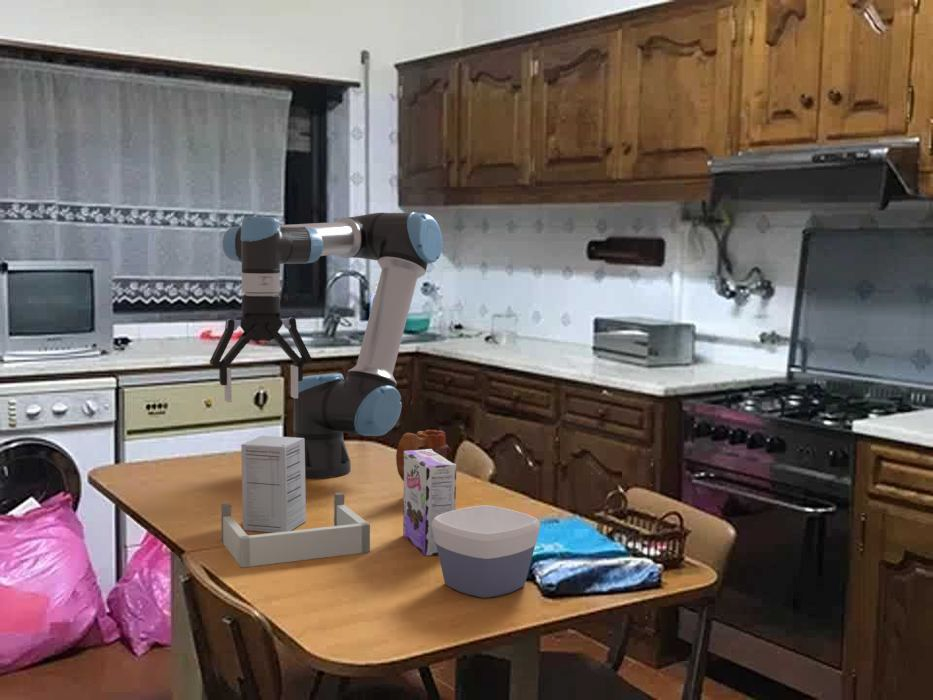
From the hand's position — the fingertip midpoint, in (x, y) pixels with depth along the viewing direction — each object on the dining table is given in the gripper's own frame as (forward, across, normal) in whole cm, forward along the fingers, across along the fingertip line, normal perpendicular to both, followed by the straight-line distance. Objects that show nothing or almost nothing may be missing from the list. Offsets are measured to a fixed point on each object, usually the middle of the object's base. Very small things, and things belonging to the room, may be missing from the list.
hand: (261, 399), depth 211 cm
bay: (+23, -1, -26) cm, 35 cm away
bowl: (+23, +21, -59) cm, 67 cm away
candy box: (+23, +22, -35) cm, 47 cm away
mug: (+23, +33, -5) cm, 41 cm away
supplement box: (+23, -1, -12) cm, 26 cm away
